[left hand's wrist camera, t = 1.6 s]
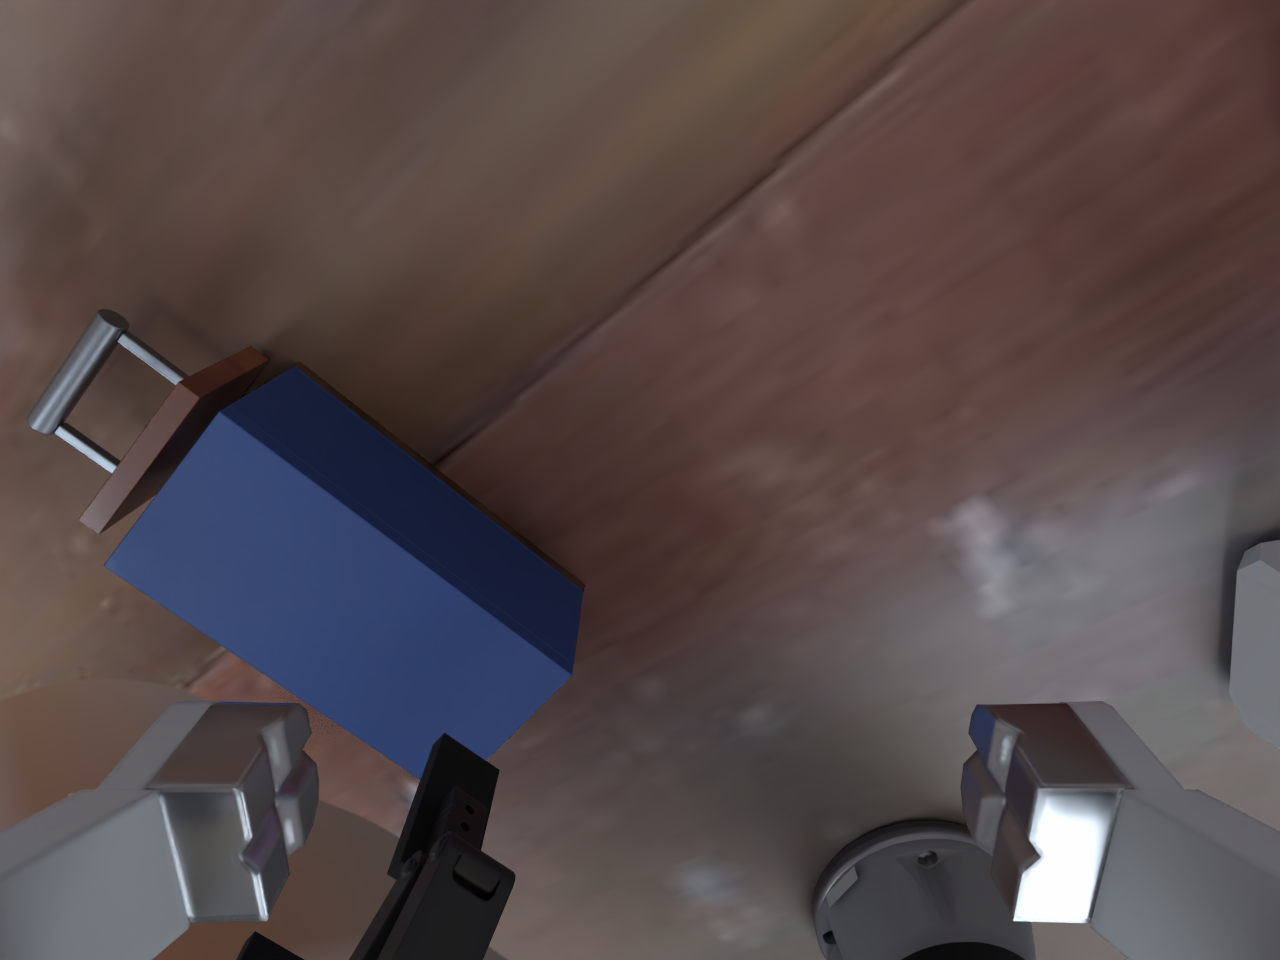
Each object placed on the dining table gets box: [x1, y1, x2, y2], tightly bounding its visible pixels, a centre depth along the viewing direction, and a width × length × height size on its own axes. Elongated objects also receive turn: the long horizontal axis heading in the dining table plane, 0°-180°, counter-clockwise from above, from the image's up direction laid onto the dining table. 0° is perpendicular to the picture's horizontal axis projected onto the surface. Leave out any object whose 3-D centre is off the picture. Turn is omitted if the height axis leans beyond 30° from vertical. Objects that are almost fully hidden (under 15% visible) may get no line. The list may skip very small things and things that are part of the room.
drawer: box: [27, 309, 268, 534], centre depth 48 cm, size 26×10×8 cm, turn 48°
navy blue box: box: [104, 362, 585, 780], centre depth 49 cm, size 22×11×10 cm, turn 48°
